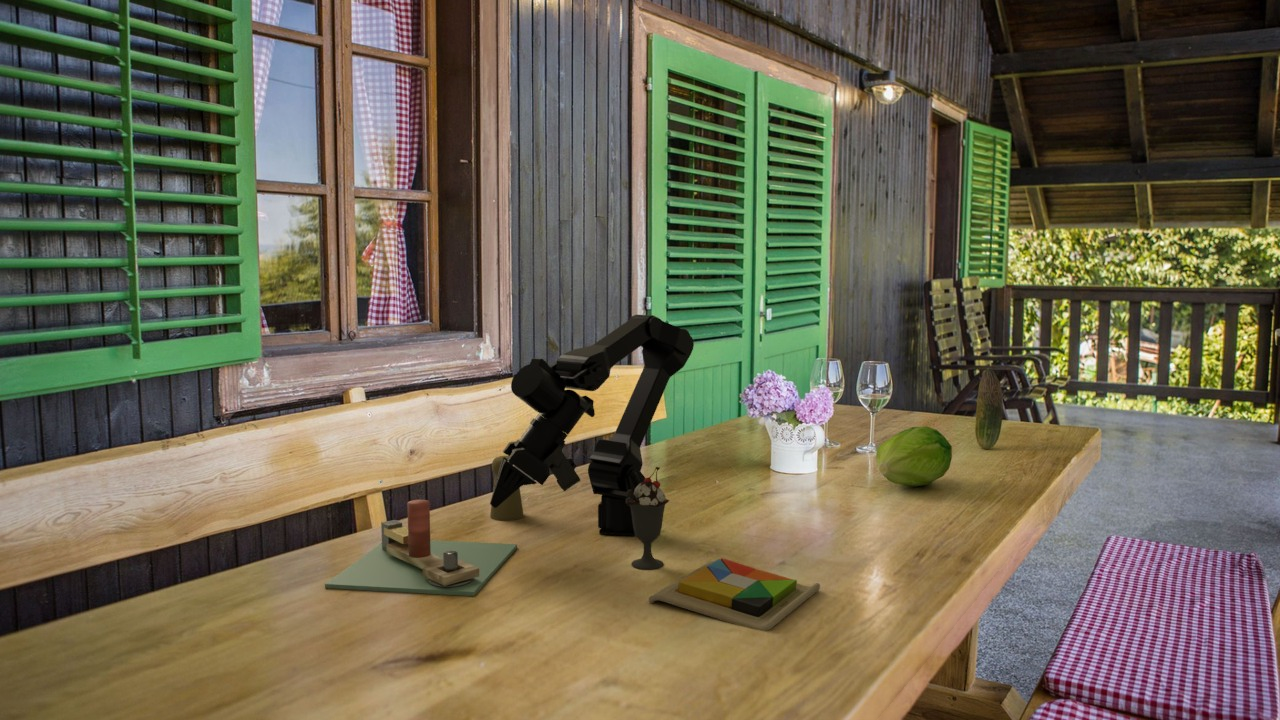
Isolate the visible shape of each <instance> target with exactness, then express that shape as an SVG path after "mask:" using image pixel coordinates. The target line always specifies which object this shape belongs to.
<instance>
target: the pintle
mask: <svg viewBox="0 0 1280 720" xmlns="http://www.w3.org/2000/svg"><path fill="white" fill-rule="evenodd" d="M443 557H444V572H447V573H449V572H453V571H456V570H458V552H456V551H447V552H444V553H443ZM473 580H474V578H471V579H468V580H464V581H461V582H457V583H453V584H450V585H446V586H444V585H441V584H439V583H437V582H435V581H433V580H431V579H428V582H429V584H430V585H432V586H435V587H440V588H453V587H460V586H464V585H467V584H469V583H471V582H472V581H473Z"/></svg>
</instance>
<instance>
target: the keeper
mask: <svg viewBox="0 0 1280 720" xmlns="http://www.w3.org/2000/svg"><path fill="white" fill-rule="evenodd" d="M380 523H381V525H380V526H381V543H382V550H384V551H386V545H387V544H391V543H396V542H400V543H402V544H407V543H408V527H406V526H405V525H403V522H401V521H400V520H397V519H393V520H392V519H391V520H387V521H386V520H385V521H382V522H380ZM386 552H387V551H386Z"/></svg>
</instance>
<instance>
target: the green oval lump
mask: <svg viewBox="0 0 1280 720" xmlns="http://www.w3.org/2000/svg"><path fill="white" fill-rule="evenodd" d="M952 448H953V447H952V445H951V443H950V442H949V441H948V440H947V438H946V437H945V436H944V435H943V434H942V433H941V432H940V431H939V430H938V429H935V428H933V427H931V426H914V427H910V428H907V429H904V430H902V431H900V432H898V433H897V434H895V435H893V436H892V437H890V438H888V439H887V440H885V441H884V442H883V443H882V444H879V446H877V448H876V455H875V459H876V464H877V465H876V466H877V468H878V471H879V473H880V474H881V475H882V476H883V477H884V478H886V479H887V480H888V481H889V482H890V483H893V484H898V485H900V486H901V485H902V486H906V487H920V486H926V485H930V484H932V483H933V482H935V481H936V480H938V479H941V478H942V477H943V476H945V475H946V473H947V472H948V470H949V469H950V468H951V463H952V455H953V451H952V450H953V449H952Z"/></svg>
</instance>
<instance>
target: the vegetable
mask: <svg viewBox="0 0 1280 720" xmlns="http://www.w3.org/2000/svg"><path fill="white" fill-rule="evenodd" d="M976 401H977V402H976V410H975V412H976V413H975V427H974V429H975V430H974V431H975V433H974V434H975V439H976V443H977V444H978V446H979V447H980V448H981V449H984V450H990V449H991V448H993V447H994V446H995V445H996V444H997V443H998V440H999V438H1000V434H1001V429H1002V425H1003V417H1004V416H1003V415H1004V414H1003V413H1004V406H1003V405H1004V402H1003V392H1002V385H1001V382H1000V380H999V378H998V376H997V375H996V372H995V371H994V370H993V369H992V368H990V367H988V368H985V369H984V370H983V372H982V376H981V378H980V381H979V385H978V393H977V399H976Z"/></svg>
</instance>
